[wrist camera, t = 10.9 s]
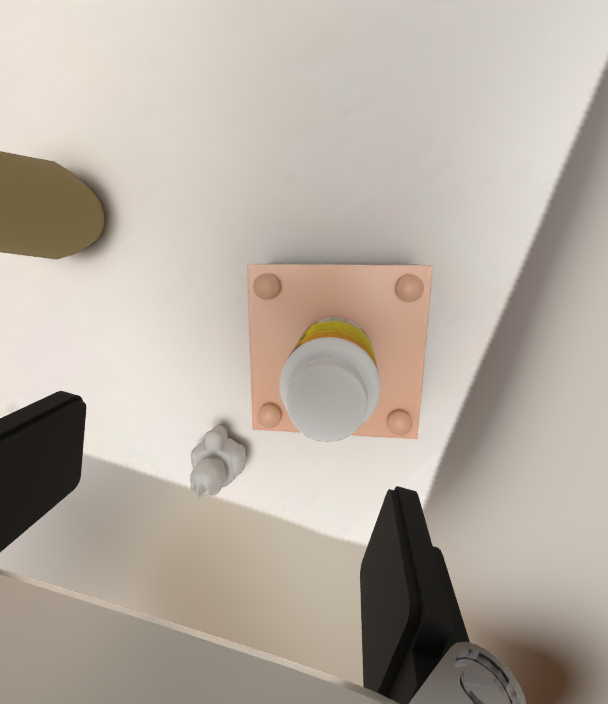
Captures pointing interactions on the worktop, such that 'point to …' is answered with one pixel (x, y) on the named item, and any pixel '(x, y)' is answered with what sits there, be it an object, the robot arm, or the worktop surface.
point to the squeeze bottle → (45, 209)
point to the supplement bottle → (330, 380)
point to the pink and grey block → (349, 303)
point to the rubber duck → (216, 462)
